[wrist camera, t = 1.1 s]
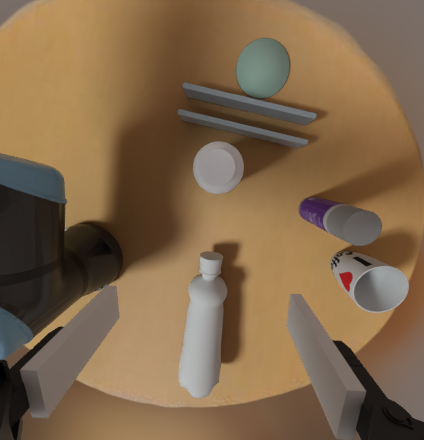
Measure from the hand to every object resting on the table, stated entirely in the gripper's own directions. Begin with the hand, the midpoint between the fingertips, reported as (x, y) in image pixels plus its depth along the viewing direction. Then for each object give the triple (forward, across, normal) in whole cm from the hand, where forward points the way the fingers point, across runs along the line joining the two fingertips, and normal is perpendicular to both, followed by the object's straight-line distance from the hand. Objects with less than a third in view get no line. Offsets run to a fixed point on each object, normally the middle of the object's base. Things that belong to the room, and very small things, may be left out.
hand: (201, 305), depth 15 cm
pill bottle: (+26, +1, +10) cm, 29 cm away
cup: (+26, +27, -7) cm, 38 cm away
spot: (+26, +8, +27) cm, 39 cm away
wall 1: (+26, +5, +21) cm, 34 cm away
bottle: (+27, -1, -21) cm, 34 cm away
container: (+26, +19, +4) cm, 32 cm away
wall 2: (+26, +5, +17) cm, 32 cm away
